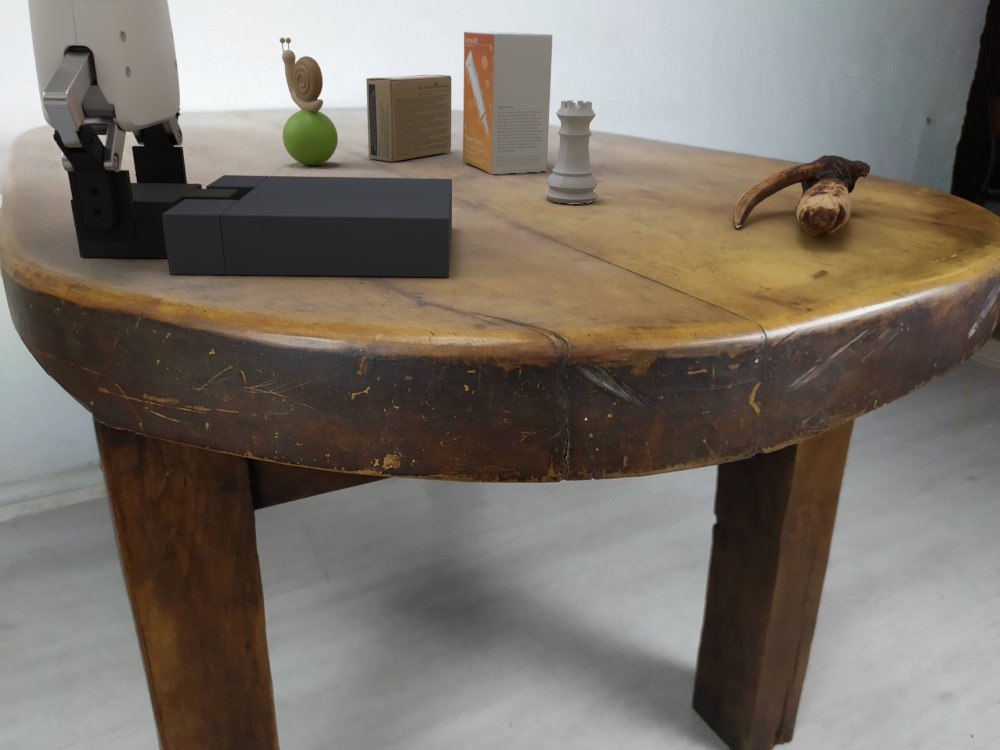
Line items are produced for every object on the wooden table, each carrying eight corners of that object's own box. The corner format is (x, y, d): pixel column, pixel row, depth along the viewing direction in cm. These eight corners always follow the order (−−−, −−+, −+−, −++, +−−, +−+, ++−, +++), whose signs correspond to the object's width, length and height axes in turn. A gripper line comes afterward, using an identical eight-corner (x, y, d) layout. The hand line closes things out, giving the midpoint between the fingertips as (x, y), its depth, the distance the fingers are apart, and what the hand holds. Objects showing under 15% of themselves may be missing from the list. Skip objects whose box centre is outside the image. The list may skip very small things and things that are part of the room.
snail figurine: (314, 158, 89) (307, 37, 85) (349, 165, 85) (343, 39, 80) (269, 162, 86) (259, 37, 81) (303, 170, 82) (294, 39, 77)
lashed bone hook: (749, 203, 74) (718, 241, 58) (755, 148, 72) (725, 172, 57) (863, 209, 71) (862, 252, 55) (871, 152, 69) (874, 179, 53)
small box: (461, 162, 89) (462, 30, 84) (516, 160, 91) (520, 31, 86) (490, 175, 82) (493, 32, 77) (548, 172, 84) (555, 33, 79)
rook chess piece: (582, 207, 68) (588, 105, 65) (535, 200, 70) (539, 101, 67) (606, 199, 72) (613, 101, 69) (560, 193, 74) (565, 98, 71)
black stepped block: (79, 257, 51) (69, 199, 49) (117, 234, 56) (109, 182, 55) (226, 259, 51) (220, 202, 50) (249, 236, 56) (244, 184, 55)
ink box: (427, 149, 97) (427, 73, 94) (453, 153, 95) (453, 75, 92) (366, 159, 90) (363, 76, 86) (392, 163, 88) (390, 78, 84)
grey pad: (169, 274, 48) (161, 213, 46) (228, 224, 60) (223, 174, 58) (448, 277, 48) (448, 217, 47) (451, 227, 60) (451, 178, 59)
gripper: (90, -70, 54) (129, 195, 61) (-65, -109, 38) (10, 255, 45) (208, -66, 54) (234, 196, 61) (102, -104, 38) (152, 257, 45)
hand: (139, 221), depth 53 cm, fingers open, 9 cm apart
